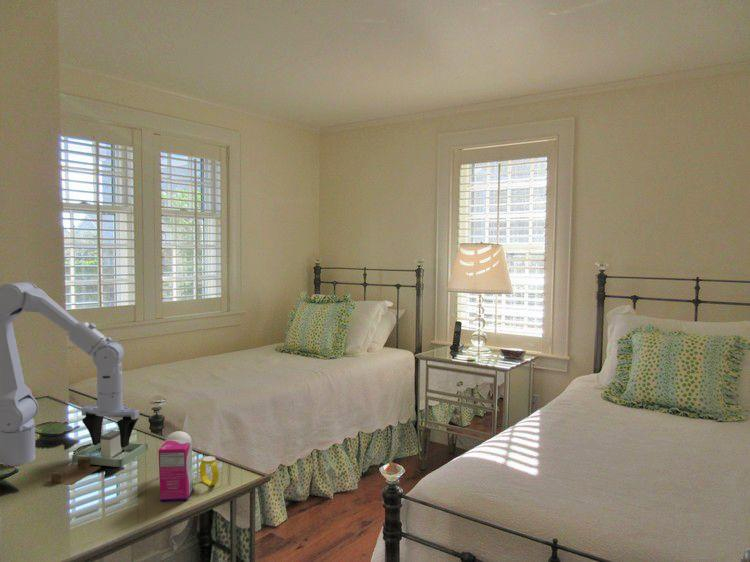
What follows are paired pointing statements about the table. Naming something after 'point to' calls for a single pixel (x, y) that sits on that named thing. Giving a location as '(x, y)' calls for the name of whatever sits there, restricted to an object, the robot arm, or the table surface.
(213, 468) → the watch
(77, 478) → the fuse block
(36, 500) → the table surface
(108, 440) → the block
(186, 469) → the supplement box
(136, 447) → the parts tray
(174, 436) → the lightbulb
